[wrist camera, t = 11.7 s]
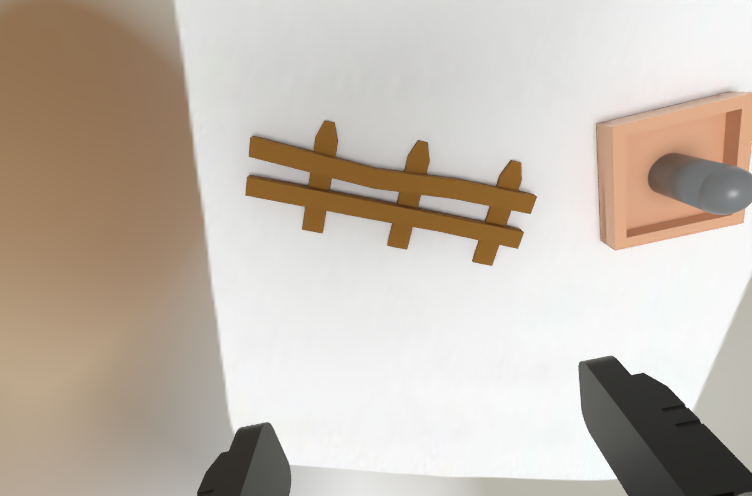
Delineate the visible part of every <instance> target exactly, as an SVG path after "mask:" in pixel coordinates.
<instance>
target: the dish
mask: <svg viewBox="0 0 752 496" xmlns="http://www.w3.org/2000/svg"><path fill="white" fill-rule="evenodd" d="M596 125H597V152H598V179H599V205H600V232H601V241H602V242H604V243H605V244H607V245H608V246H609V247H611V248H612V249H614V250H620V249H624V248H629V247H634V246H638V245H643V244H648V243H652V242H657V241H662V240H666V239H671V238H676V237H680V236H685V235H690V234H694V233H699V232H704V231H708V230H713V229H718V228H722V227H727V226H732V225H736V224H741V223H744V214H745V208H744V209H743V210H741V211H739V212H736V213H733V214H728V215H716V214H711V213H708V212H706V211H703V210H701V209H698V208H695V207H693V206H690V205H688V204H685V203H682V202H680V201H677V200H674V199H672V198H669V197H667V196H664V195H661V194H659V193H656V192H654V191H653V190H652V189H651V188H650V186H649V184H648V173H649V171H650V168H651V167H652V165H653V164H654V163H655V162H656V161H657V160H658V159H659V158H660V157H662V156H664V155H666V154H669V153H680V154H684V155H688V156H693V157H697V158H702V159H706V160H711V161H715V162H719V163H724V164H728V165H733V166H737V167H740V168H743V169H745V170H747V171H748V172H749V164H750V155H751V145H752V92H727V93H723V94H719V95H714V96H710V97H706V98H702V99H698V100H694V101H690V102H685V103H681V104H677V105H673V106H669V107H665V108H660V109H656V110H652V111H648V112H644V113H640V114H636V115H631V116H627V117H623V118H619V119H615V120H611V121H607V122H602V123H598V124H596Z"/></svg>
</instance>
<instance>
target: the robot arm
mask: <svg viewBox="0 0 752 496" xmlns="http://www.w3.org/2000/svg"><path fill="white" fill-rule="evenodd" d="M579 382H580V396H581V409H582V414H583V418H584V421H585V424H586V426H587V428H588V431H589V433H590V434H591V436H592V438H593V439H594V441H595V443H596V444H597V446H598V448H599V449H600V451H601V452H602V454H603V456H604V457H605V459H606V460H607V462H608V464H609V465H610V467H611V469H612V470H613V472H614V473H615V475H616V477H617V478H618V480H619V481H620V483H621V484H622V486H623V488H624V490H625V491H626V493H627V494H628V496H752V473H751V472H750V471H749V470H748V469H747V468H746V467H745V466H744V465H743V464H742V463H741V462H740V461H739V460H738V459H737V458H736V457H735V455H733V454H732V452H730V450H728V448H727V447H726V446H725V445H724V444H723V443H722V442H721V441H720V440H719V439H718V438H717V437H716V436H715V435H714V434H713V433H712V432H711V431H710V430H709V429H708V428H707V427H706V426H705V425H704V424H701V422H700V420H699V419H698V417H697V416H695V414H694V413H693V412H692V411H691V410H690V409H689V408H686V407H685V404H684V403H683V402H682V401H681V400H680V399H679V398H678V397H677V396H676V395H675V394H674V393H673V392H672V391H671V390H670V389H669V388H668V387H667V386H666V385H664V384H662V383H660V382H659V381H657V380H655V379H653V378H652V377H650V376H648V375H646V374H645V373H640V374H635V375H631V374H630V373H629V372H628V371H627V370H626V369H625V368H624V367H623V365H622V364H621V363H620V362H619V361H618V360H617V359H616V358H615V357H613V356H607V357H602V358H597V359H591V360H586V361H581V362H580V363H579ZM290 488H291V471H290V466H289V463H288V460H287V458H286V456H285V453H284V451H283V449H282V447H281V444H280V442H279V440H278V438H277V435H276V433H275V431H274V429H273V427H272V425H271V424H270V423H268V422H266V423H261V424H256V425H251V426H246V427H241V428H239V429H238V431H237V432H236V434H235V437H234V440H233V442H232V445H231V447H230V450H229V451H228V452H223V453H221V454H220V455H219V456H218V458H217V459H216V460H215V462H214V463H213V464H212V465H211V466H210V468H209V469H208V471H206V473H205V476H204V478H203V480H202V483H201V485H200V487H199V490H198V492H197V496H289V493H290Z"/></svg>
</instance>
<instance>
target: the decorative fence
mask: <svg viewBox="0 0 752 496" xmlns="http://www.w3.org/2000/svg"><path fill="white" fill-rule="evenodd" d="M337 143H338V139H337V133H336V128H335V123H334V122H329V121H324V123H323V125H322V126H321V128H320V130H319V132H318V134H317V135H316V138H315V144H314V151H309V150H305V149H302V148H298V147H294V146H290V145H286V144H283V143H279V142H275V141H271V140H267V139H263V138H260V137H256V136H252V137H251V138H250V149H249V157H252V158H256V159H260V160H264V161H268V162H272V163H276V164H280V165H284V166H288V167H291V168H295V169H299V170H303V171H307V172H310V179H309V185H308V186H304V185H298V184H293V183H288V182H283V181H278V180H273V179H268V178H263V177H257V176H252V175H249V176H248V177H247V183H246V194H245V195H246V196H252V197H257V198H262V199H267V200H273V201H278V202H283V203H288V204H294V205H299V206H304V207H305V213H304V220H303V226H302V230H308V231H313V232H318V233H322V232H323V227H324V221H325V215H326V211H330V212H336V213H341V214H346V215H351V216H357V217H362V218H367V219H373V220H378V221H384V222H389V223H392V227H391V231H390V236H389V240H388V244H387V245H388V246H391V247H396V248H402V249H407V248H408V244H409V240H410V236H411V232H412V228H413V227H417V228H422V229H428V230H433V231H439V232H444V233H448V234H453V235H457V236H462V237H467V238H471V239H476V240H479V241H478V244H477V247H476V250H475V254H474V257H473V260H472V261H473V262H475V263H480V264H485V265H491V266H492V264H493V261H494V259H495V256H496V253H497V250H498V247H499V245H503V246H508V247H513V248H517V249H518V247H519V244H520V242H521V239H522V236H523V233H524V232H523V231H522V230H521V229H517V228H512V227H508V226H506V224H507V221H508V218H509V215H510V212H511V210H513V211H518V212H523V213H528V214H531V212H532V209H533V206H534V203H535V201H536V198H537V196H535V195H534V194H531V193H526V192H521V191H518V189H519V186H520V183H521V180H522V178H521V163H520V162H517V161H512V160H511V161H510V162H509V163H508V165H507V166H506V167H505V169H504V170H503V171H502V173H501V174H500V176H499V179H498V182H497V185H496V186H491V185H486V184H481V183H476V182H471V181H466V180H461V179H456V178H448V177H440V176H433V175H426V173H427V169H428V165H429V161H430V160H429V150H428V143H427V142H423V141H417V143H416V144H415V146H414V147H413V149H412V151H411V152H410V154H409V155H408V158H407V163H406V167H405V171H404V172H402V171H395V170H387V169H380V168H374V167H370V166H367V165H363V164H359V163H355V162H351V161H347V160H344V159H340V158H336V157H335V155H336V149H337ZM332 178H335V179H338V180H342V181H346V182H350V183H354V184H358V185H362V186H366V187H370V188H374V189H381V190H389V191H397V192H400V193H399V197H398V201H397V204H395V203H390V202H385V201H380V200H375V199H370V198H365V197H360V196H355V195H350V194H345V193H339V192H334V191H330V185H331V179H332ZM421 195H428V196H435V197H443V198H451V199H457V200H462V201H467V202H472V203H477V204H483V205H488V206H490V207H489V210H488V213H487V216H486V219H485V222H483V221H478V220H473V219H468V218H463V217H459V216H454V215H449V214H444V213H439V212H434V211H429V210H424V209H419V208H418V205H419V201H420V197H421Z"/></svg>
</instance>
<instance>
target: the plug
mask: <svg viewBox="0 0 752 496" xmlns="http://www.w3.org/2000/svg"><path fill="white" fill-rule="evenodd" d="M648 184H649V186H650V188H651V189H652V190H653V191H654V192H656V193H659V194H661V195H664V196H667V197H669V198H672V199H674V200H677V201H680V202H682V203H685V204H688V205H690V206H693V207H695V208H698V209H701V210H703V211H706V212H708V213H711V214H716V215H728V214H733V213H736V212H739V211H741V210H743V209H744V208H746V207H747V206H748V205H750V204H751V202H752V174H751V173H749V172H748V171H747V170H745V169H743V168H740V167H737V166H733V165H728V164H724V163H719V162H715V161H711V160H706V159H702V158H697V157H693V156H688V155H684V154H680V153H669V154H666V155H664V156H662V157H660V158H659V159H658V160H657V161H656V162H655V163H654V164H653V165H652V167H651V168H650V171H649V173H648Z"/></svg>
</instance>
